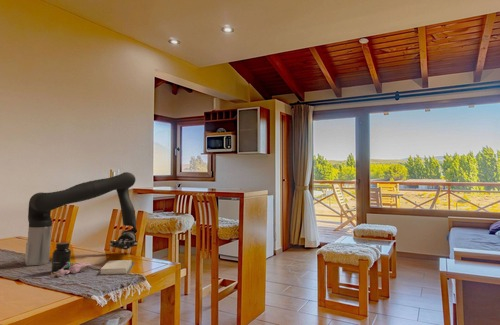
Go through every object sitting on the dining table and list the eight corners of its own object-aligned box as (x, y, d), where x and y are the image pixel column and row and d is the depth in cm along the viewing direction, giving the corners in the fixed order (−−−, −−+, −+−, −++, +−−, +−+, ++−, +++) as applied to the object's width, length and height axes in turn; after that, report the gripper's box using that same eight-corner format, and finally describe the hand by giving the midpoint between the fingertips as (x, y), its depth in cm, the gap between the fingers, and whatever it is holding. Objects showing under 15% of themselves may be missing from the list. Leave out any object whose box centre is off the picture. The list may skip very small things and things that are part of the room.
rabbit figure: (54, 282, 124) (94, 270, 135) (53, 268, 123) (92, 256, 134) (50, 279, 128) (88, 267, 139) (48, 265, 128) (87, 254, 139)
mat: (108, 264, 149) (108, 262, 149) (135, 263, 152) (135, 262, 152) (96, 277, 128) (97, 275, 128) (128, 275, 131) (128, 274, 131)
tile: (108, 260, 144) (100, 268, 130) (131, 260, 146) (126, 268, 132) (108, 265, 144) (100, 274, 129) (131, 265, 146) (126, 273, 132)
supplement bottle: (50, 274, 130) (52, 245, 131) (51, 270, 136) (54, 242, 137) (69, 272, 133) (71, 244, 134) (70, 268, 139) (72, 241, 140)
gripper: (113, 233, 160) (105, 238, 143) (140, 233, 163) (136, 238, 146) (112, 248, 159) (104, 255, 142) (139, 247, 162) (135, 254, 145)
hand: (120, 246), depth 144 cm, fingers closed
